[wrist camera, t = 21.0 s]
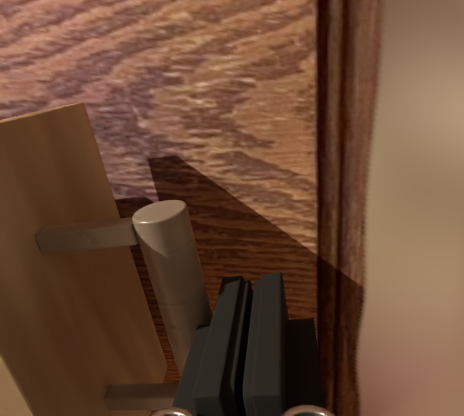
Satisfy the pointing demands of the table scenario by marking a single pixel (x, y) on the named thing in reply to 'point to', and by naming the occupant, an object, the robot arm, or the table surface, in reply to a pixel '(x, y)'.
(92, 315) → the drawer
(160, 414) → the robot arm
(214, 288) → the table surface
